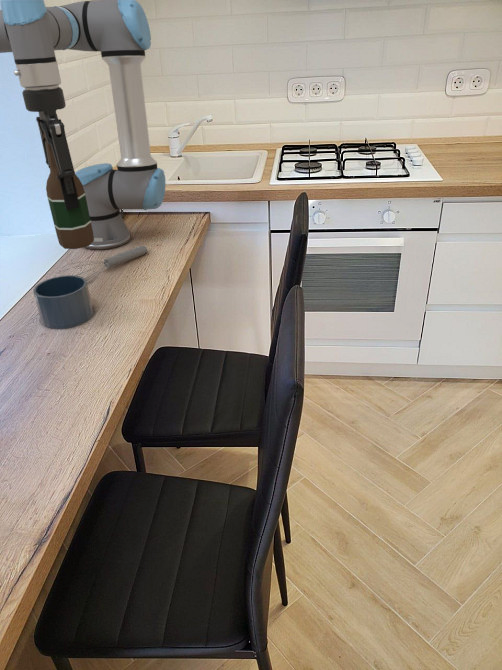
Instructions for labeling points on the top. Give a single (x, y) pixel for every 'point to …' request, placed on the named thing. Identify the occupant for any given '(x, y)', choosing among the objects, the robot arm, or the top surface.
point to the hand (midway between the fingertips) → (68, 203)
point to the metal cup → (63, 301)
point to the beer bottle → (73, 222)
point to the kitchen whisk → (115, 259)
